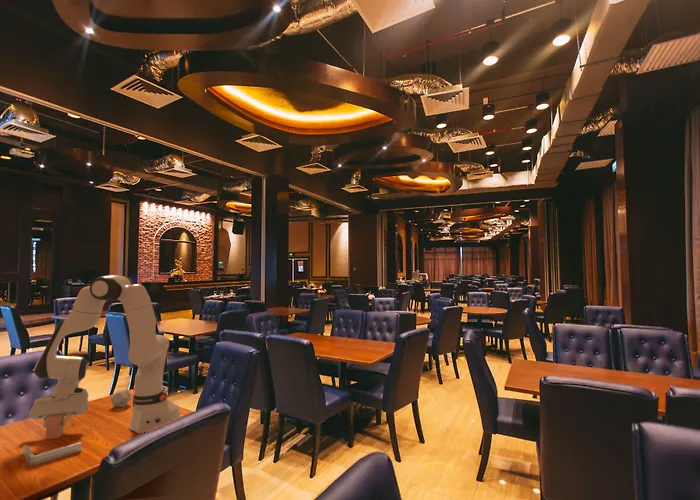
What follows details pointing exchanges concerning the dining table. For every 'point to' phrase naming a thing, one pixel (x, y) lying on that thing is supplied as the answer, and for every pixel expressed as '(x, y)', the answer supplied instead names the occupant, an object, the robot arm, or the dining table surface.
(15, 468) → the dining table surface
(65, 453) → the corner wall
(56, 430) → the block
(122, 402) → the grey faceted polyhedron
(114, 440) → the dining table surface
